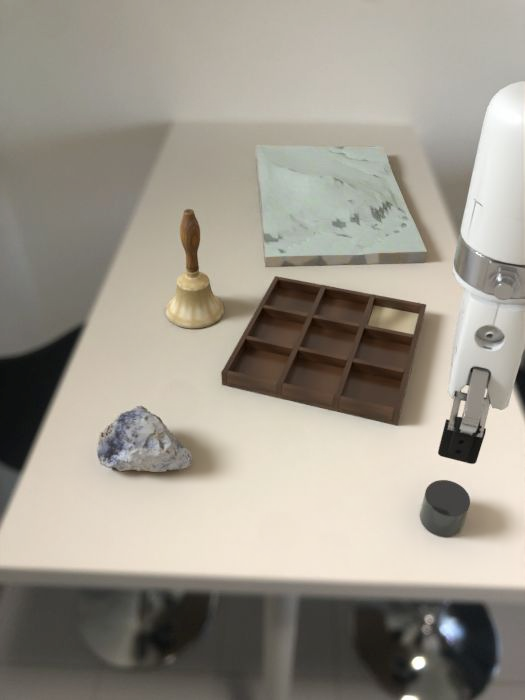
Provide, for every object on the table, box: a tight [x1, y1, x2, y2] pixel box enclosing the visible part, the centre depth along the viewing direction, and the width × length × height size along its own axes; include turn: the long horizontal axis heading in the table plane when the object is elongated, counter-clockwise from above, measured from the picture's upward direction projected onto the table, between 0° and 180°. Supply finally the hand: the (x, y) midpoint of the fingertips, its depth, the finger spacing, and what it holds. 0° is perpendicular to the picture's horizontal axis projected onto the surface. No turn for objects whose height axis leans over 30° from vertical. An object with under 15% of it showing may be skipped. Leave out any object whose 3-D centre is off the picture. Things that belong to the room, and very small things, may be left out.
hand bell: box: [165, 208, 225, 330], centre depth 91 cm, size 8×8×16 cm
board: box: [220, 275, 427, 426], centre depth 89 cm, size 22×22×2 cm
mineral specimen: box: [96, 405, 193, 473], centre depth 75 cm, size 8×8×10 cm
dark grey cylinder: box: [419, 479, 471, 538], centre depth 68 cm, size 4×4×4 cm
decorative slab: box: [255, 143, 428, 268], centre depth 118 cm, size 38×27×5 cm
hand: (463, 418), depth 61 cm, fingers open, 9 cm apart
